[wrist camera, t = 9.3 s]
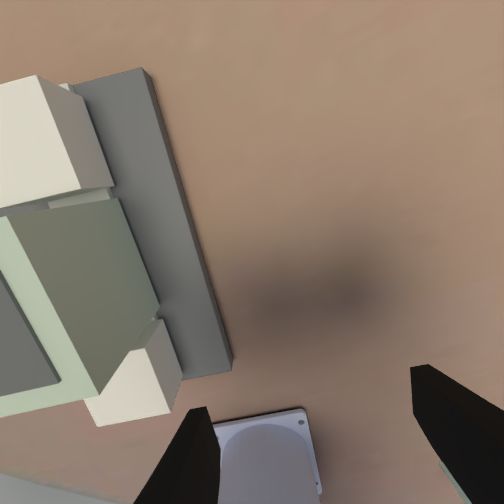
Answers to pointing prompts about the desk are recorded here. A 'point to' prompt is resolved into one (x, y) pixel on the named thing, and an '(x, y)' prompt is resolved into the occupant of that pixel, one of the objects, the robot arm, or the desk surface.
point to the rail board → (135, 211)
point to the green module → (68, 303)
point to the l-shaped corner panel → (455, 484)
